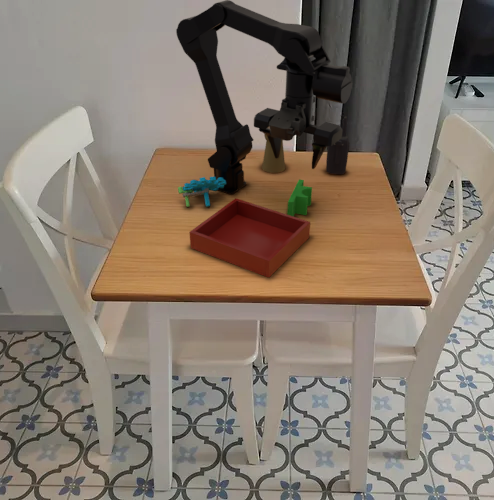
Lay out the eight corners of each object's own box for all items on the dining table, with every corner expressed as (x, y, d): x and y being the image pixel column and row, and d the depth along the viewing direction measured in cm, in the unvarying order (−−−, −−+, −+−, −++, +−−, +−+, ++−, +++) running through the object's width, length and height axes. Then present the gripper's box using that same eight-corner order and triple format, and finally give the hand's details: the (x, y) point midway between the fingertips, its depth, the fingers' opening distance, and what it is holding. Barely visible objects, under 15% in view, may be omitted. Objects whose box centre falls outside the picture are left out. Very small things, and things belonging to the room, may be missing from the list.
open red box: (190, 248, 112) (189, 231, 109) (236, 213, 123) (235, 198, 121) (268, 277, 104) (269, 260, 102) (309, 237, 116) (310, 221, 114)
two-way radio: (346, 170, 143) (352, 114, 134) (346, 178, 139) (352, 121, 131) (325, 168, 143) (329, 113, 135) (324, 176, 139) (329, 120, 131)
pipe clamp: (303, 222, 121) (304, 204, 118) (286, 219, 122) (287, 201, 119) (313, 198, 130) (314, 181, 127) (298, 196, 131) (299, 178, 128)
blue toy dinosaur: (226, 184, 131) (223, 170, 121) (230, 207, 130) (228, 196, 120) (180, 192, 131) (174, 179, 121) (184, 215, 130) (178, 205, 120)
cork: (285, 173, 140) (287, 132, 134) (261, 172, 140) (262, 132, 134) (285, 163, 146) (286, 123, 139) (262, 162, 145) (263, 122, 139)
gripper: (239, 95, 110) (239, 165, 119) (322, 114, 103) (316, 188, 111) (268, 81, 118) (266, 148, 127) (347, 98, 110) (339, 168, 119)
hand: (295, 163), depth 121 cm, fingers open, 9 cm apart
